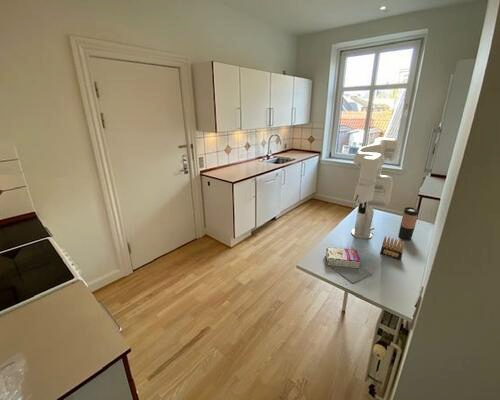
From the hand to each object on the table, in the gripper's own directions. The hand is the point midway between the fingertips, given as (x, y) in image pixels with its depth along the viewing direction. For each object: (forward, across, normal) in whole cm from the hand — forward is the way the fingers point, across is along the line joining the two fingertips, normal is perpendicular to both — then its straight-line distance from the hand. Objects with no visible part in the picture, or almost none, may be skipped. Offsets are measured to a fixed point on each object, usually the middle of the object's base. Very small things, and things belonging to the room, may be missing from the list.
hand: (361, 212), depth 130 cm
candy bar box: (+24, +6, +7) cm, 26 cm away
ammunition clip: (+28, -16, +11) cm, 34 cm away
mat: (+26, +14, +8) cm, 31 cm away
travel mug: (+29, -43, +2) cm, 52 cm away
